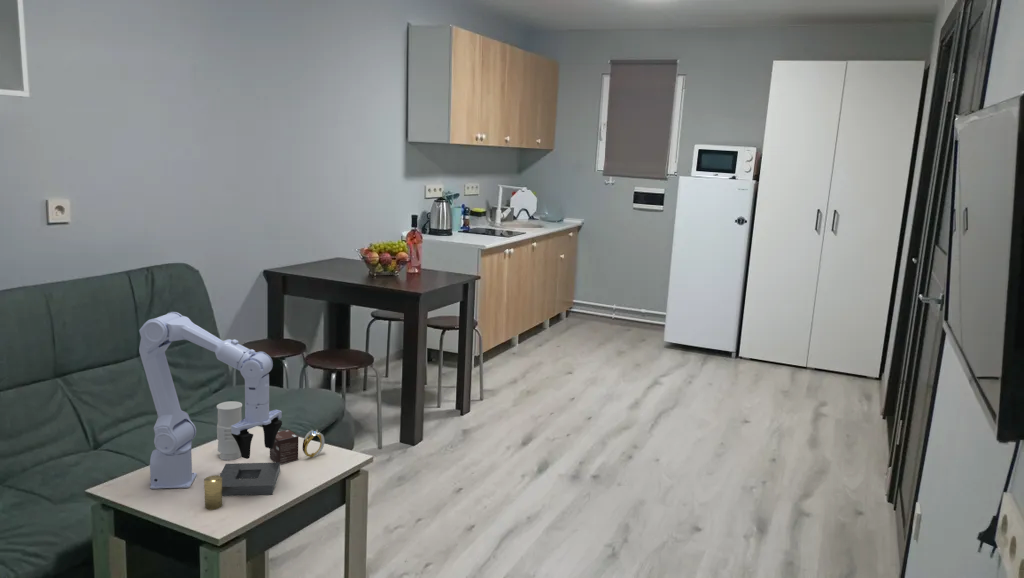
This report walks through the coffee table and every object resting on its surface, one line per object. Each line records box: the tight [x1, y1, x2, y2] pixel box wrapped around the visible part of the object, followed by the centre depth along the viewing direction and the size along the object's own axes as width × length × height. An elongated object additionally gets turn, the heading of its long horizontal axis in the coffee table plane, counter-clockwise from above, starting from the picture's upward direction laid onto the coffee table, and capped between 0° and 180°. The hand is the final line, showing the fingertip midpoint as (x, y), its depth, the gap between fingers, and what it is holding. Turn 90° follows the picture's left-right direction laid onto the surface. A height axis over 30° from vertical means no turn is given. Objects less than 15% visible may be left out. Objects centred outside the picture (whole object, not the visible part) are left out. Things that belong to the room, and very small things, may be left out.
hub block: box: [219, 461, 281, 497], centre depth 187 cm, size 14×14×2 cm
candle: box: [216, 400, 243, 461], centre depth 202 cm, size 7×7×15 cm
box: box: [269, 429, 300, 465], centre depth 202 cm, size 6×6×7 cm
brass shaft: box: [203, 475, 224, 511], centre depth 174 cm, size 4×4×7 cm
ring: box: [302, 429, 325, 458], centre depth 205 cm, size 7×3×8 cm, turn 140°
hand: (257, 452), depth 182 cm, fingers open, 7 cm apart
